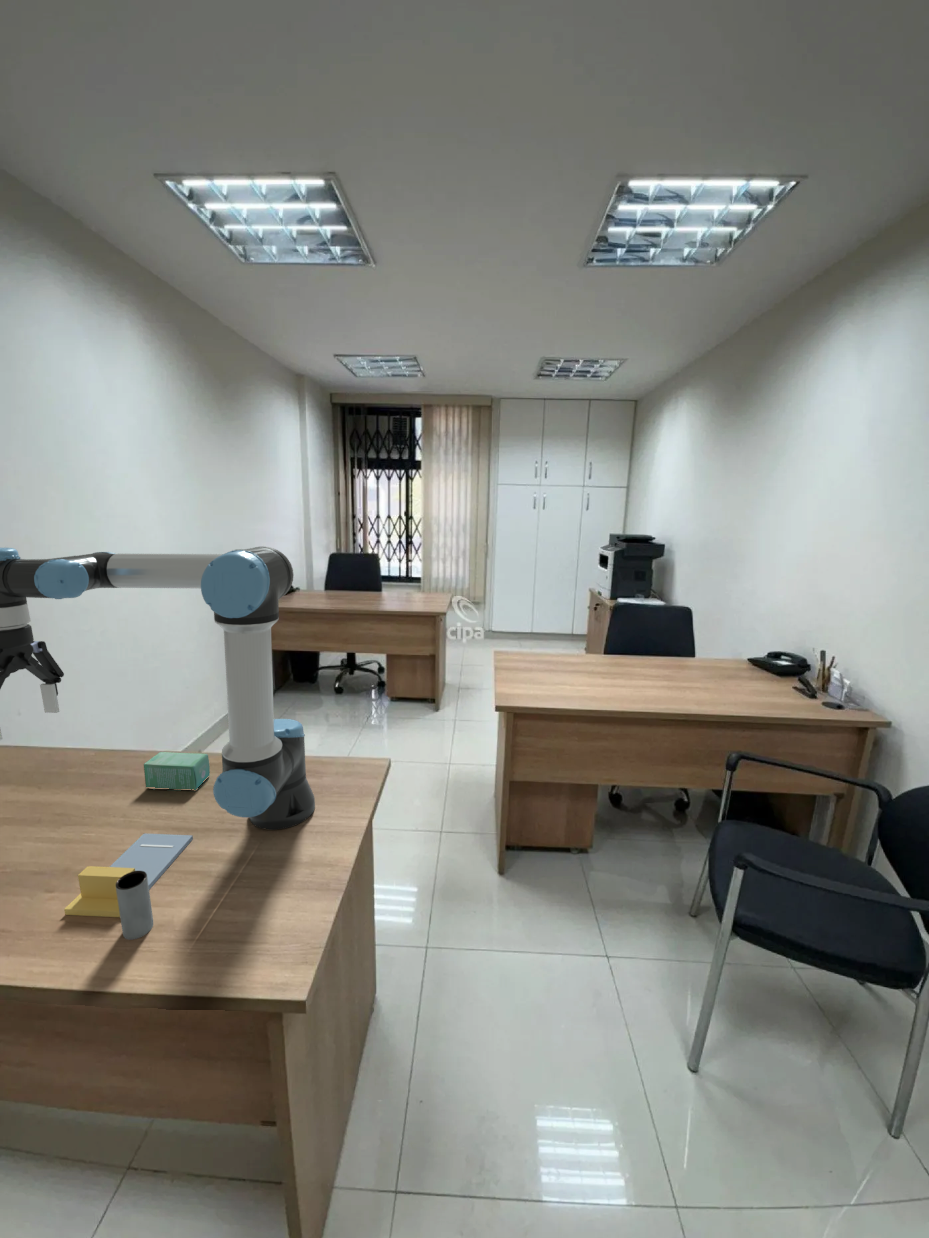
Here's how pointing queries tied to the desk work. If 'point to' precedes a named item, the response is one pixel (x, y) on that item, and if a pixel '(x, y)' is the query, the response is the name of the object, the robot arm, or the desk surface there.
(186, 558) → the robot arm
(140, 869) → the ticket
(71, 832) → the desk surface
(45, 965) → the desk surface
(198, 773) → the box
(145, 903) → the gray cylinder
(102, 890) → the yellow stepped block
